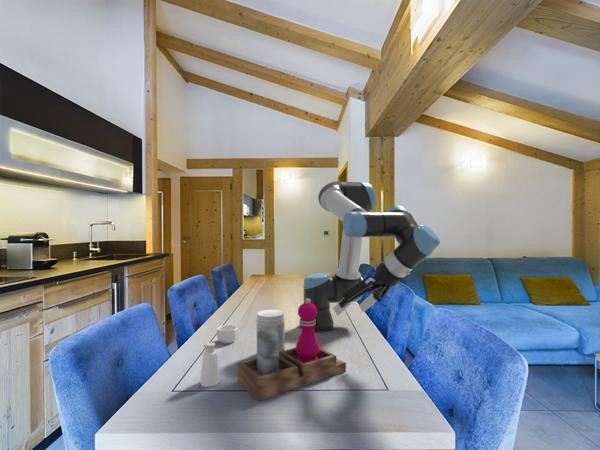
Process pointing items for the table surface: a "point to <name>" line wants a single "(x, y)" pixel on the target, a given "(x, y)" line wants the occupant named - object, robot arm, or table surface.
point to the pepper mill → (307, 333)
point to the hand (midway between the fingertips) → (349, 310)
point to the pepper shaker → (209, 366)
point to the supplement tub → (272, 324)
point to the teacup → (227, 333)
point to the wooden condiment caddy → (282, 368)
